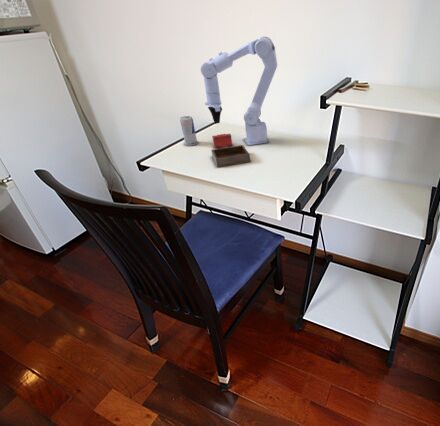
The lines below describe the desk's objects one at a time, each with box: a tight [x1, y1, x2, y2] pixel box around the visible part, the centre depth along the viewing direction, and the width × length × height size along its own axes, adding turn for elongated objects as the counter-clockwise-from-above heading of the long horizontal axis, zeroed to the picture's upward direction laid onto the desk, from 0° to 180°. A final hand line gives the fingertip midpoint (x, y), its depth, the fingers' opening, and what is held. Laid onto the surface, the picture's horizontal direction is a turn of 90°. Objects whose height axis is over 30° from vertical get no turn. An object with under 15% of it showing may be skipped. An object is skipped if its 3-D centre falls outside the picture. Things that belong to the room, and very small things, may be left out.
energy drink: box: [179, 115, 198, 147], centre depth 137 cm, size 5×5×12 cm
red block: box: [211, 133, 233, 149], centre depth 138 cm, size 8×5×5 cm, turn 115°
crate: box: [211, 144, 251, 168], centre depth 127 cm, size 14×10×4 cm
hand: (217, 122), depth 140 cm, fingers closed
